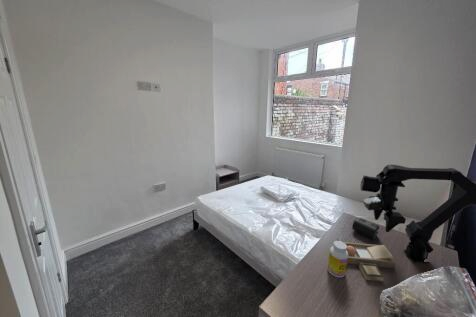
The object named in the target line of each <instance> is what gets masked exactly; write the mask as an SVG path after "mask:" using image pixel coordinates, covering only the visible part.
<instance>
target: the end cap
mask: <svg viewBox="0 0 476 317" xmlns="http://www.w3.org/2000/svg"><path fill="white" fill-rule="evenodd" d="M351 228H352V230H353V231H355V232H356V233H358V234H361V235H362V236H365V237H367V238H369V239H371V240H373V241H374V240H375V239H376V238H377V237H378V234H379V231H378V230H379V229H380V225H378V224H376V223H373V222H372V223H371V224H369V223H367V220H366V219H363V218H359V219H356V218H355V220H353V223H352V227H351Z"/></svg>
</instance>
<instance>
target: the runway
mask: <svg viewBox="0 0 476 317" xmlns="http://www.w3.org/2000/svg"><path fill="white" fill-rule="evenodd" d="M336 241H341V242H343V243H345V244H346V245H347V246H353V247H354V248H355V250H356V254H355V255H354V256H348V262H347V265H349V264H351V265H358V266H359V265H360V263H370V264H376V265H377V267H378V268H379V267H380V268H388V269H389V268H390V269H394V268H396V267H395V266H396V264H397V263H396V261H395V260H394V257H393V255H392V254H391V252H390V251H389V250H388V248H387V247H386V245H384V244H382V245H381V244H370V243H361V242H359V243H358V242H350V241H347V242H346V241H342V240H341V238H340V237H337V240H336Z"/></svg>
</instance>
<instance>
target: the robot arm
mask: <svg viewBox="0 0 476 317" xmlns="http://www.w3.org/2000/svg"><path fill="white" fill-rule="evenodd" d="M408 180H433V181H451V182H452V183H453V184H454V185H456V186H455V187H454V189H453V191H452V194H451V196H450V197H449V198H448V199H447V200H446V201H445V202H443V203H442V204H441V205H439V207H437V208H436V209H434V210H433V211H432V212H431V213H430V214H428V215H427V216H426V217H425V218H423V220H421V221H417V222H416V221H415V220H411V221H410V223H409V224H406V225H405V229H404V231H405V234H406V236H407V237H408V240H409V242H408V244H407V245H406V249H403V252H404V253H405V255H407V257H408V258H409V257H410V258H409V259H410V260H411V261H412V262H414V261H418V262H417V263H424V260H425V259H428V257H429V254H431V253H432V252H433V251H434V248H433V246H432V245H431V243H430V242H429V241H430V240H432V236H433V235H434V232H435V231H436V230H437V229H439V228H440V227H441V226H442V225H444V224H445V223H446V222H448V221H449V220H450V219H451V218H453V217H454V216H455V215H457V214H458V213H459V212H461V211H462V210H463V209H465V208H466V207H471V206H476V181H473V180H471V179H469V178H468V177H467V176H465V174H463V173H462V172H461V171H460V170H457V169H456V168H454V167H453V168H452V167H448V168H433V167H432V168H430V167H429V168H427V167H425V168H423V167H407V166H403V165H397V164H387V165H386V166H384V168H383V169H382V170H381V171H380V172H379V173H377V175H375V176H368V175H362V178H361V181H360V191H363V192H367V193H368V192H369V193H377V194H376V195H375V196H374V195H371V196H369V197H368V198H364V199H363V204H364V207H365V208H366V209H367V210H368V211H373V216H374V220H375V221H378V220H379V219H380V217H381V215H382V213H383V211H384V213H383V217H382V219H383V220H384V221H385V233H390V231H392V230H393V229H394V228H395V227H397V226H398V225H400V224H401V225H402V224H405V223H406V219H407V218H406V217H405V216H404V215H403V214H401V213H400V212H398V211H395V210H397V207H396V206H395V204H396V202H398V201H399V198H398V197H397V195H398V194H397V193H398V189H399V187H400V188H406V185H405V184H404V183H403V182H405V181H408Z"/></svg>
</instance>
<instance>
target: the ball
mask: <svg viewBox="0 0 476 317" xmlns="http://www.w3.org/2000/svg"><path fill="white" fill-rule="evenodd" d="M347 252H348V255H349V256H354V255H355V254H356V250H355V248H354V247H353V246H347Z"/></svg>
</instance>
